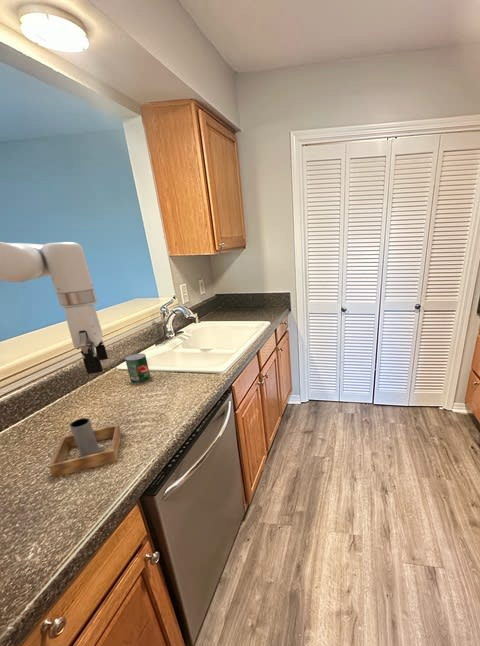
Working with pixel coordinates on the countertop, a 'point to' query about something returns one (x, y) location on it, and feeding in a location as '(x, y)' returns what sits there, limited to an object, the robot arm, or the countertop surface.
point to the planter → (84, 437)
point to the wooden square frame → (74, 465)
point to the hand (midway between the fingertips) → (98, 365)
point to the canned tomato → (138, 368)
